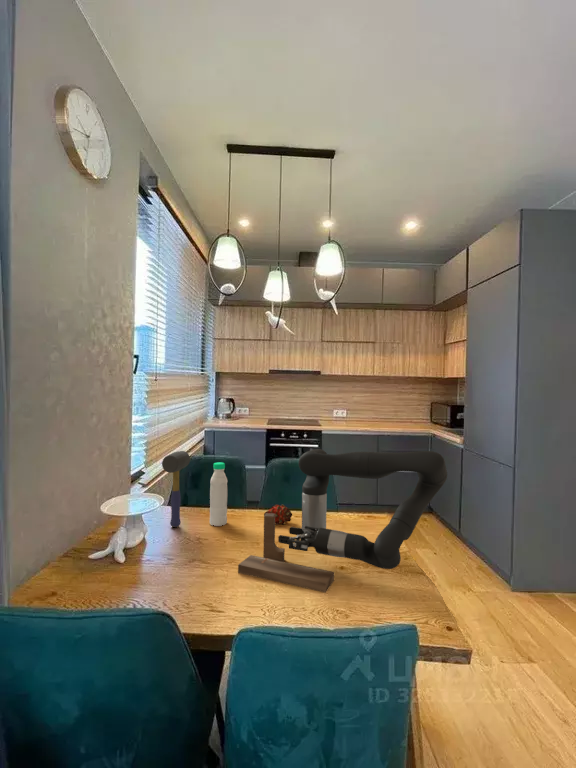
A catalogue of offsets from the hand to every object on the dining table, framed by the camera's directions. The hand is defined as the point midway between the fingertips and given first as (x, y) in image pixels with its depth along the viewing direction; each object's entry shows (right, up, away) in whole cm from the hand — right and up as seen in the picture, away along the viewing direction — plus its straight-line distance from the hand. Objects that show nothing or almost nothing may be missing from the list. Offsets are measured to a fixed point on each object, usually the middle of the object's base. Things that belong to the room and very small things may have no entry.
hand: (284, 534), depth 133 cm
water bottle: (-28, -9, +37) cm, 47 cm away
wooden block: (-3, -10, +2) cm, 10 cm away
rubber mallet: (-44, -9, +32) cm, 55 cm away
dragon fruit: (-3, -10, +38) cm, 40 cm away
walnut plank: (0, -9, -9) cm, 13 cm away
